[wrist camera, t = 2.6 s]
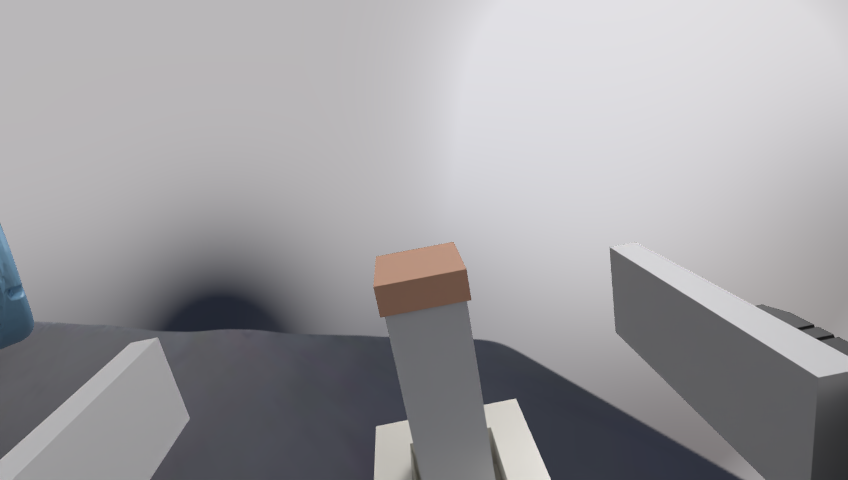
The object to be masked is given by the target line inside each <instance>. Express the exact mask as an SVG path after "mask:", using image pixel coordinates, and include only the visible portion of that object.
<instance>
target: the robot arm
mask: <svg viewBox="0 0 848 480" xmlns="http://www.w3.org/2000/svg"><path fill="white" fill-rule="evenodd" d="M610 258H611V272H612V286H613V301H614V315H615V327H616V333H617V334H618V335H619V336H620V337H621V338H622V339H623V340H624V341H625V342H626V343H628V344H629V346H630V347H632V348H633V349H634V350H635V351H636V352H637V353H638V354H639V355H640V356H641V357H642V358H643V359H644V360H645V361H646V362H647V363H648V364H649V365H650V366H651V367H652V368H653V369H654V370H655V371H656V372H657V373H658V374H659V375H660V376H661V377H662V378H663V379H664V380H665V381H666V382H667V383H668V384H669V385H670V386H671V387H672V388H673V389H674V390H675V391H676V392H677V393H678V394H679V395H680V396H681V397H682V398H683V399H684V400H685V401H686V402H687V403H688V404H689V405H690V406H692V408H694V410H695V411H696V412H698V413H699V414H700V415H701V416H702V417H703V418H704V419H705V420H706V421H707V422H708V423H709V424H710V425H711V426H712V427H713V428H714V429H715V430H716V431H717V432H718V433H719V434H720V435H721V436H722V437H723V438H724V439H725V440H726V441H727V442H728V443H729V444H730V445H731V446H732V447H733V448H734V449H735V450H736V451H737V452H738V453H739V454H740V455H741V456H742V457H743V458H744V459H745V460H746V461H747V462H748V463H749V464H750V465H751V466H752V467H753V468H754V469H755V470H756V471H757V472H758V473H759V474H760V475H761V476H763V477H764V478H765V479H766V480H848V342H847V341H845V340H843V339H841V338H839V337H837V338H835V337H834V335H833V334H831V333H830V332H828V331H826V330H824V329H821V328H819V327H814V324H812V323H810V322H808V321H806V320H804V319H802V318H800V317H798V316H796V315H794V314H792V313H790V312H786V311H783V310H779V309H775V308H772V307H769V306H765V305H757V306H754V305H752V304H750V303H748V302H746V301H745V300H743V299H741V298H739V297H737V296H735V295H733V294H731V293H729V292H728V291H726V290H724V289H722V288H720V287H718V286H717V285H715V284H713V283H711V282H709V281H707V280H705V279H703V278H702V277H700V276H698V275H696V274H694V273H692V272H691V271H689V270H687V269H685V268H683V267H681V266H679V265H678V264H676V263H674V262H672V261H670V260H668V259H666V258H664V257H663V256H661V255H659V254H657V253H655V252H653V251H651V250H650V249H648V248H646V247H644V246H642V245H640V244H638V243H637V242H633V243H628V244H623V245H618V246H613V247H610ZM33 328H34V320H33V316H32V312H31V309H30V306H29V303H28V300H27V298H26V295H25V292H24V290H23V287H22V283H21V280H20V277H19V274H18V271H17V268H16V265H15V262H14V259H13V256H12V254H11V251H10V248H9V245H8V243H7V240H6V237H5V234H4V232H3V229H2V227H1V224H0V349H2V348H5V347H7V346H10V345H12V344H15V343H18V342H20V341H22V340H24V339H25V338H27V337H28V336H29V335H30V333H31V332H32V330H33ZM189 419H190V418H189V415H188V413H187V410H186V408H185V405H184V403H183V400H182V398H181V395H180V393H179V390H178V387H177V385H176V382H175V380H174V377H173V375H172V372H171V370H170V367H169V365H168V362H167V360H166V357H165V355H164V352H163V350H162V347H161V344H160V342H159V339H158V338H153V339H148V340H143V341H138V342H133V343H130V344H129V345H128V346H127V347H126V348H125V349H124V350H122V351H121V352H120V353H119V354H118V355H117V356H116V357H115V358H114V359H112V360H111V361H110V362H109V363H108V364H107V365H106V366H105V367H103V368H102V369H101V370H100V371H99V372H98V373H97V374H96V375H94V376H93V377H92V378H91V379H90V380H89V381H88V382H87V383H86V384H84V385H83V386H82V387H81V388H80V389H79V390H78V391H77V392H75V393H74V394H73V395H72V396H71V397H70V398H69V399H68V400H67V401H65V402H64V403H63V404H62V405H61V406H60V407H59V408H58V409H56V410H55V411H54V412H53V413H52V414H51V415H50V416H49V417H48V418H46V419H45V420H44V421H43V422H42V423H41V424H40V425H39V426H37V427H36V428H35V429H34V430H33V431H32V432H31V433H30V434H29V435H27V436H26V437H25V438H24V439H23V440H22V441H21V442H20V443H18V444H17V445H16V446H15V447H14V448H13V449H12V450H11V451H10V452H8V453H7V454H6V455H5V456H4V457H3V458H2V459H1V460H0V480H150V479H151V477H152V476H153V474H154V472H155V471H156V469H157V468H158V466H159V465H160V463H161V462H162V460H163V459H164V457H165V456H166V454H167V453H168V451H169V449H170V448H171V446H172V445H173V443H174V442H175V440H176V439H177V437H178V436H179V434H180V433H181V431H182V430H183V428H184V427H185V425H186V423H187V422H188V420H189Z"/></svg>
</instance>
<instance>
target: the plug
mask: <svg viewBox="0 0 848 480" xmlns="http://www.w3.org/2000/svg"><path fill="white" fill-rule="evenodd" d="M374 291H375V295H376V300H377V304H378V309H379V314H380V317H385V319H386V323H387V328H388V332H389V337H390V341H391V346H392V350H393V355H394V359H395V364H396V368H397V373H398V377H399V382H400V386H401V391H402V395H403V400H404V404H405V409H406V413H407V418H408V422H409V427H410V431H411V436H412V440H413V445H414V449H415V454H416V458H417V463H418V467H419V472H420V476H421V480H496V479H495V473H494V467H493V461H492V454H491V448H490V442H489V436H488V430H487V423H486V417H485V411H484V405H483V399H482V392H481V386H480V380H479V374H478V368H477V361H476V355H475V349H474V343H473V337H472V331H471V324H470V318H469V312H468V306H467V301H469V300H471V295H470V289H469V282H468V276H467V270H466V267H465V265H464V263H463V261H462V259H461V257H460V255H459V252H458V250H457V248H456V246H455V244H454V242H450V243H445V244H439V245H434V246H430V247H424V248H418V249H413V250H408V251H403V252H397V253H392V254H387V255H382V256H377V257H376V263H375V275H374Z"/></svg>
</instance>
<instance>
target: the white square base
mask: <svg viewBox="0 0 848 480" xmlns="http://www.w3.org/2000/svg"><path fill="white" fill-rule="evenodd" d="M484 411H485V417H486V423H487V430H488V436H489V442H490V448H491V454H492V461H493V467H494V473H495V479H496V480H551V479H550V477H549V474H548V472H547V470H546V467H545V465H544V463H543V460H542V458H541V456H540V454H539V451H538V449H537V447H536V444H535V442H534V440H533V437H532V435H531V433H530V430H529V428H528V426H527V423H526V421H525V419H524V416H523V414H522V412H521V410H520V407H519V405H518V403H517V400H516V399H512V400H507V401H502V402H497V403H492V404H487V405H484ZM374 480H421V476H420V472H419V467H418V463H417V458H416V454H415V449H414V445H413V440H412V436H411V431H410V427H409V422H408V420H406V421H401V422H396V423H391V424H386V425H381V426H376V444H375V469H374Z"/></svg>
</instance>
